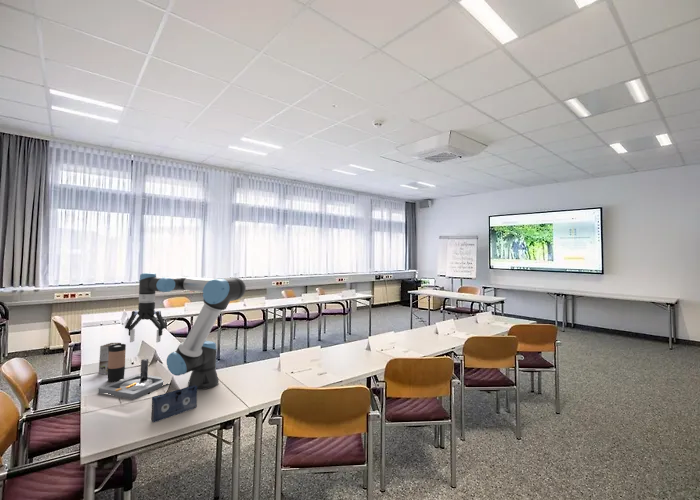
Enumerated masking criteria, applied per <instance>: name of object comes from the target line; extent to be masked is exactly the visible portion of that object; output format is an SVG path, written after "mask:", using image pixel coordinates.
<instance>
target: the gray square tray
mask: <svg viewBox="0 0 700 500" xmlns="http://www.w3.org/2000/svg"><path fill="white" fill-rule="evenodd" d="M140 376H141V373H138V374H137V373H136V374H135V375H132V376H128V377H126V378H124V379H121V380H119V381H117V382H111V383H110V384H107V385H106V384H105V385H103V386H101V387H98V389H97V390H98V391H97V392H98V394H100V393H108V394H111V395H114V396H113V397H116V396H117V398H121V399H123V398H124V399H129V400H136V399H138V398H140V397H143V396H145V395H147V394H149V393H152V392H155V391H157V390H158V389H161V388H163V387H162V385H163V382H164V381H163V380H162V378H161V377H162V376H157V375H152V374H151V375H150V374H148V379H150V380H152V384H151V385H148V386H146V387H143V388H141V389H138V390H136V391H130V390H124V389H122V388H120V385H121V384H122V383H125V382H127V381H131V380H135V379H140ZM111 395H110V396H111Z"/></svg>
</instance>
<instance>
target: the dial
mask: <svg viewBox="0 0 700 500" xmlns="http://www.w3.org/2000/svg"><path fill="white" fill-rule="evenodd" d="M140 374H141V376H140V379H135V380H131V381H127V382H125V383H122V384H121V385H120V388H122V389H124V390H130V391H136V390H138V389H141V388H143V387H146V386H148V385H151V384H152V380H150V379H148V375H149V359H148V358H144V359H141V361H140Z"/></svg>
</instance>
